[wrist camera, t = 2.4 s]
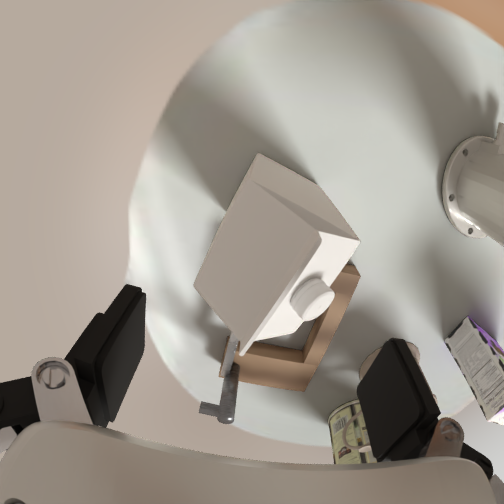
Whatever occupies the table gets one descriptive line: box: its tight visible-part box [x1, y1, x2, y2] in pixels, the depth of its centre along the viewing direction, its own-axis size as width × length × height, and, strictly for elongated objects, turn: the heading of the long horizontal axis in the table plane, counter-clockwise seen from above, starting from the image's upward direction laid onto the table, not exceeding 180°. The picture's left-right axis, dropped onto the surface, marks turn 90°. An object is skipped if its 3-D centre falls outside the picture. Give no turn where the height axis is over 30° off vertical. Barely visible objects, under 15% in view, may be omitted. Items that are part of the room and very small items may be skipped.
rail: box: [220, 332, 239, 377], centre depth 34 cm, size 16×1×4 cm, turn 167°
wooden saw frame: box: [219, 264, 361, 392], centre depth 35 cm, size 19×12×2 cm, turn 167°
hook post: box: [199, 363, 240, 424], centre depth 33 cm, size 2×4×8 cm, turn 77°
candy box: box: [444, 316, 504, 426], centre depth 30 cm, size 14×6×16 cm, turn 59°
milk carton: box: [194, 153, 360, 356], centre depth 22 cm, size 7×7×19 cm
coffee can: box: [328, 400, 377, 464], centre depth 38 cm, size 10×10×14 cm
